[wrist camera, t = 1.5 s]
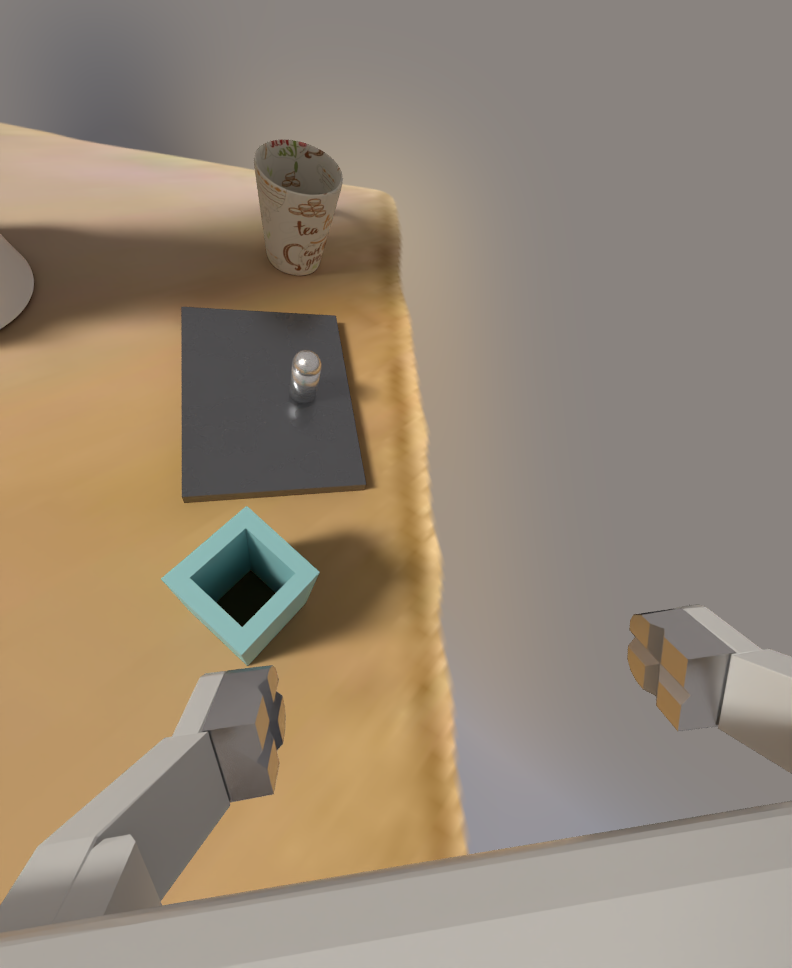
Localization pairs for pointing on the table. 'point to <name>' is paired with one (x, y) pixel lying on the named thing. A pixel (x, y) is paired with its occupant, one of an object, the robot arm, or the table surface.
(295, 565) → the sleeve
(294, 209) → the mug
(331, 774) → the table surface
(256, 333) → the plate
